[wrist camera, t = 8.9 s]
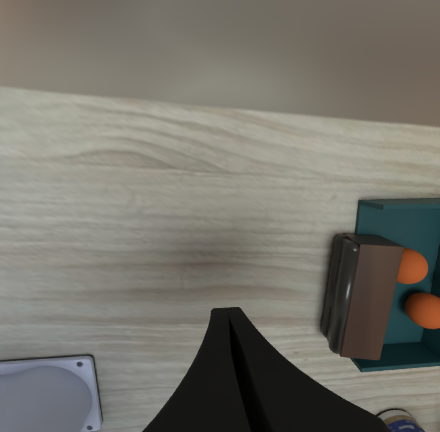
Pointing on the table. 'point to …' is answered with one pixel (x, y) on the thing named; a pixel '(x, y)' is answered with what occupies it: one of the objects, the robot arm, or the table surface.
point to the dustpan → (398, 319)
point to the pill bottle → (400, 421)
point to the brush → (360, 294)
